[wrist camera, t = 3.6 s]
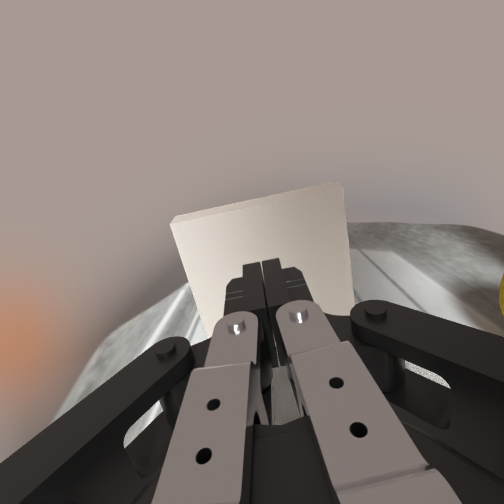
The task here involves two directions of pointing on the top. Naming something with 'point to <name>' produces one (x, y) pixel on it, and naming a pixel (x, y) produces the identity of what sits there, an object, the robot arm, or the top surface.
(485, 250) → the top surface
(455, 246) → the top surface
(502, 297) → the lemon
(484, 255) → the top surface
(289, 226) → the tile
